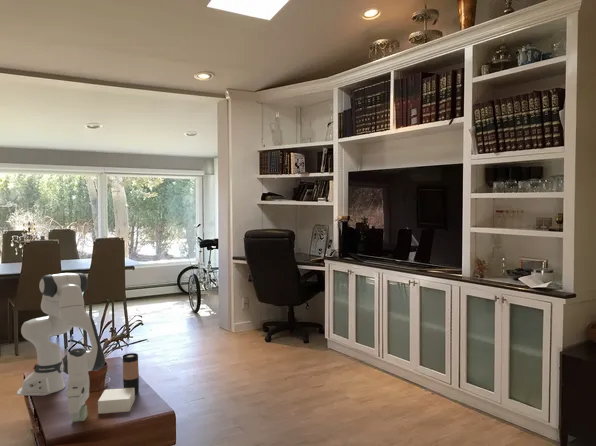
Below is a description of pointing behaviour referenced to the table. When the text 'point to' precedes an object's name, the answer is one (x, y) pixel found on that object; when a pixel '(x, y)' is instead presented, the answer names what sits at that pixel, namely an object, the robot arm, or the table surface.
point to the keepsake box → (116, 400)
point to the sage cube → (81, 414)
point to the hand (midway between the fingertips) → (79, 415)
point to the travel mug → (131, 371)
